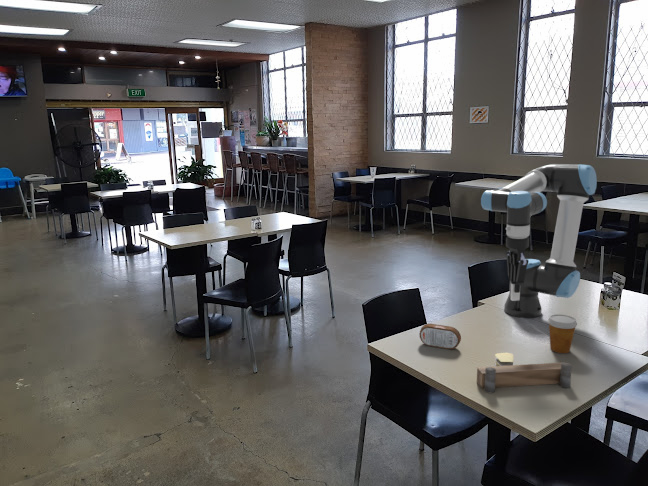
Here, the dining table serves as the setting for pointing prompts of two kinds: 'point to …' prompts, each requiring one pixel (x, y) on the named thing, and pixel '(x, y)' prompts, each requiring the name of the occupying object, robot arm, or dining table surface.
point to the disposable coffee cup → (561, 332)
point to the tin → (440, 336)
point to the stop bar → (524, 375)
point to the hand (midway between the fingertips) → (514, 299)
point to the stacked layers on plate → (504, 359)
